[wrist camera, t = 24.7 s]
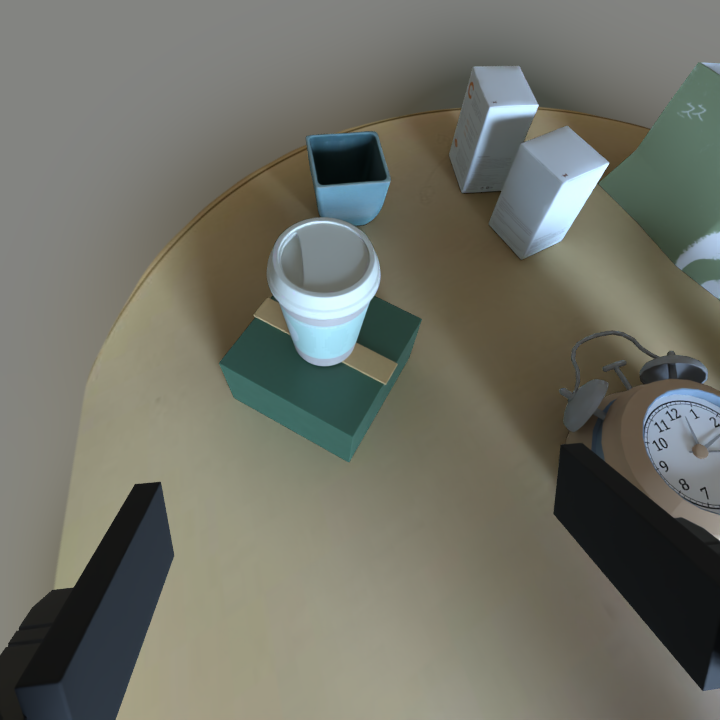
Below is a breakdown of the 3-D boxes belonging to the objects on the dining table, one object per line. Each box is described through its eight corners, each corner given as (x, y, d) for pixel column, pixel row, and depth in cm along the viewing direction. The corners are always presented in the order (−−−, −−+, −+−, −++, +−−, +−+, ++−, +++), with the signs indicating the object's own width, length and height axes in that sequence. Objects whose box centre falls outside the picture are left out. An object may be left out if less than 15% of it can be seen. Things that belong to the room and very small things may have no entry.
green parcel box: (232, 396, 50) (216, 360, 43) (302, 302, 57) (299, 257, 49) (350, 463, 48) (355, 437, 41) (411, 357, 54) (424, 318, 47)
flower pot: (383, 235, 62) (392, 180, 54) (316, 242, 61) (315, 187, 53) (370, 187, 66) (376, 129, 58) (307, 192, 65) (304, 134, 57)
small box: (504, 191, 67) (540, 105, 56) (460, 194, 67) (488, 107, 55) (488, 152, 71) (520, 63, 59) (447, 154, 70) (471, 65, 59)
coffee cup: (305, 289, 47) (298, 196, 37) (383, 322, 46) (401, 236, 36) (261, 357, 44) (240, 276, 33) (346, 395, 42) (352, 323, 32)
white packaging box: (563, 241, 64) (613, 163, 52) (520, 261, 62) (562, 184, 50) (528, 205, 66) (568, 123, 55) (485, 223, 64) (519, 141, 53)
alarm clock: (694, 590, 36) (539, 337, 45) (625, 594, 44) (506, 378, 54) (857, 511, 39) (681, 292, 49) (766, 528, 47) (630, 337, 57)
